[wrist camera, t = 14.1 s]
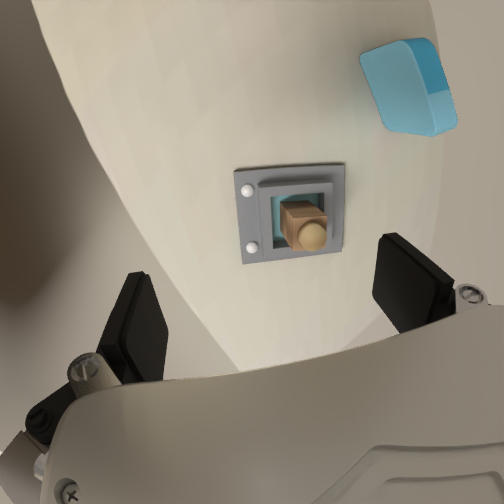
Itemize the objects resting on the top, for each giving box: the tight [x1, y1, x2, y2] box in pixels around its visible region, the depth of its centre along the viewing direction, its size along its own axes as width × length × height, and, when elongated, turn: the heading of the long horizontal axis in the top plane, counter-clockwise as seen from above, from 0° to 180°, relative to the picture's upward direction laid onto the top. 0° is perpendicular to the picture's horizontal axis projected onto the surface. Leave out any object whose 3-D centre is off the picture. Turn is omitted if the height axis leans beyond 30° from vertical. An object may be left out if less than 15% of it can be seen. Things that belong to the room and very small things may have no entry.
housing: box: [233, 165, 344, 264], centre depth 37 cm, size 13×15×4 cm
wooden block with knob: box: [280, 200, 327, 251], centre depth 34 cm, size 4×4×8 cm
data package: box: [360, 38, 458, 137], centre depth 27 cm, size 12×4×12 cm, turn 25°
